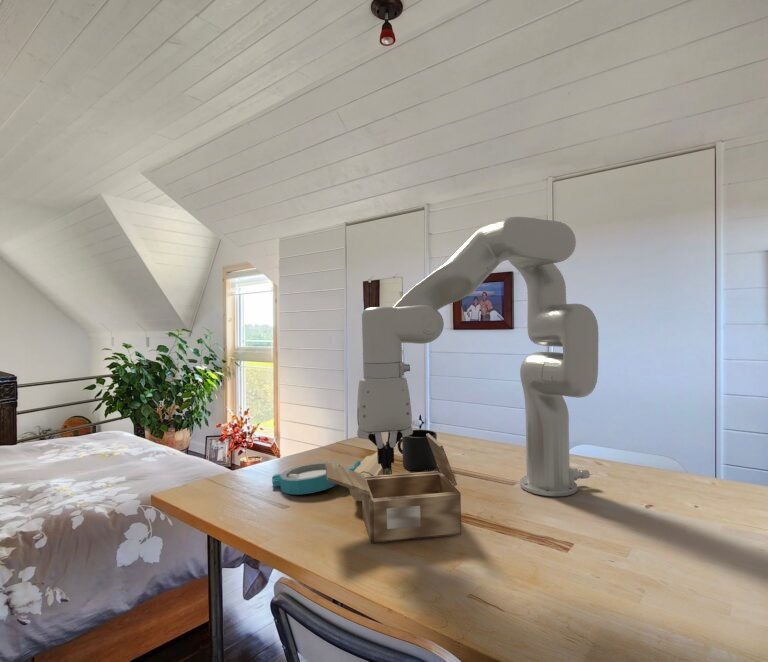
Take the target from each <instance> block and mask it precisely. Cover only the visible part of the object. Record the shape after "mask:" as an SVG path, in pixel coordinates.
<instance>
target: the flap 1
mask: <svg viewBox="0 0 768 662" xmlns="http://www.w3.org/2000/svg"><path fill="white" fill-rule="evenodd" d="M325 462H326V463H325V468H326V476H327V481H329V482H332V483H335V484H337V485H339V486H342V487H345V488H348V489H349V488H350V489H353V490H356V491H359V492H362V493H365V494H368V495H369V493H370V490H369V488H368V485H367V482H366V480H365V477H364V474H361V473H358V472H355V471H352V470H349V469H346V467H343V466H341V465H340V466H338V465H335V464H332V463H329V462H330V461H325Z"/></svg>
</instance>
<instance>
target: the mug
mask: <svg viewBox="0 0 768 662" xmlns="http://www.w3.org/2000/svg"><path fill="white" fill-rule="evenodd" d="M412 430H413V434H411V435H409V436H405V437H402V438H401V439H400V440H399V441H398V442H397V449H398V451H399V453H400V454H401V455H402V467H403V468H404V467H405V468H404V469H406V468H407V469H406V470H408V469H410V470H409V471H412V470H416V471H415V472H423V471H422V470H428V471H432V470H434V468H435V469H436V468H437V467H438V465H437V462H436V460H435V457H434V454H433V452H432V449H431V447H430V444H429V441H428V439H427V436H426V434H428V433H429V434H430V435H431V436H432V437H433V438H435V439H436V440H437V439H438V438H437V433H436V431H433V430H428V429H412ZM437 441H438V440H437ZM431 469H432V470H431Z"/></svg>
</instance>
